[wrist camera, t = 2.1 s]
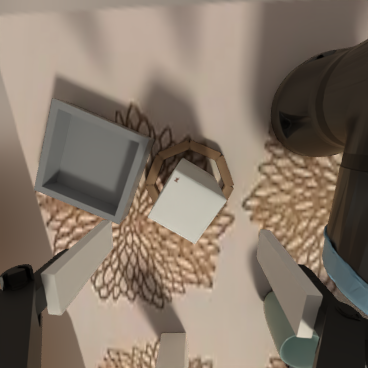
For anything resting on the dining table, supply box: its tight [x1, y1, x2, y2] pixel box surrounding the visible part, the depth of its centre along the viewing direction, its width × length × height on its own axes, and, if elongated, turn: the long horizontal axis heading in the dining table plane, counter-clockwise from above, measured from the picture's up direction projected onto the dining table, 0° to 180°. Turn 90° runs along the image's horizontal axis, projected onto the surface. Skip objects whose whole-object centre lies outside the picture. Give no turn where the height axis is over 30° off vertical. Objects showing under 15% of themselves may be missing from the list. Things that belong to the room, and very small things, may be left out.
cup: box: [264, 291, 319, 368], centre depth 34 cm, size 8×8×10 cm
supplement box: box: [148, 158, 227, 244], centre depth 28 cm, size 7×7×13 cm
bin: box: [34, 98, 155, 224], centre depth 32 cm, size 16×16×4 cm
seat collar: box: [146, 140, 234, 218], centre depth 33 cm, size 15×15×2 cm
